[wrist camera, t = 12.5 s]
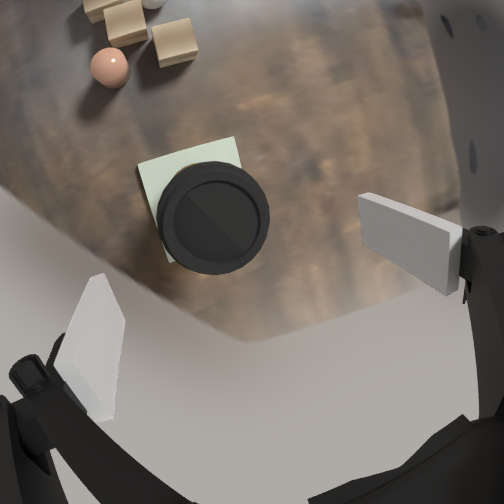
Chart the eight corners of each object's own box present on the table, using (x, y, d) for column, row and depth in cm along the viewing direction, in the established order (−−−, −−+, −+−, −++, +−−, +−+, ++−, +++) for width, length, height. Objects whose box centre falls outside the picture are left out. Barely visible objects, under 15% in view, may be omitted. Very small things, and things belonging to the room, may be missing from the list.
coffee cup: (196, 242, 37) (215, 303, 24) (144, 192, 34) (129, 226, 20) (249, 191, 37) (298, 224, 23) (199, 138, 34) (220, 136, 20)
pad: (138, 163, 33) (137, 164, 33) (232, 136, 35) (233, 136, 34) (169, 260, 38) (169, 263, 37) (255, 233, 40) (257, 235, 39)
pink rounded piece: (97, 65, 28) (87, 54, 24) (127, 55, 29) (121, 42, 24) (103, 93, 30) (93, 86, 25) (133, 82, 30) (128, 74, 26)
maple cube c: (152, 38, 29) (151, 27, 25) (187, 29, 29) (189, 17, 26) (160, 68, 30) (159, 59, 27) (194, 59, 31) (198, 49, 27)
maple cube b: (108, 21, 27) (103, 9, 23) (142, 11, 27) (140, -2, 24) (114, 49, 28) (108, 40, 25) (148, 39, 29) (146, 28, 25)
